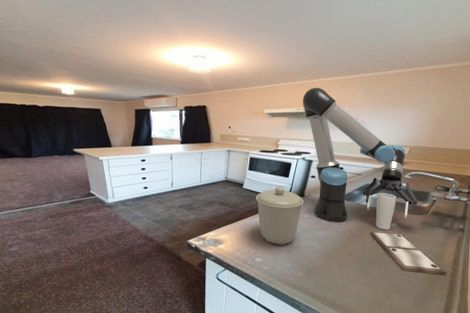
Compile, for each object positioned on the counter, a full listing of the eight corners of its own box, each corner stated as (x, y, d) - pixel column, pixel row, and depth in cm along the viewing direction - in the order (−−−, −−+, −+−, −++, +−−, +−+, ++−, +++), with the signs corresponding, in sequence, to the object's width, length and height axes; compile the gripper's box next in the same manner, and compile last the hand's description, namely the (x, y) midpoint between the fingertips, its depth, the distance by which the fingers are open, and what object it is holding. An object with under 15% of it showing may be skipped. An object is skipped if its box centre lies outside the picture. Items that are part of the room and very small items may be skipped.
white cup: (370, 224, 101) (373, 192, 98) (384, 223, 101) (387, 192, 99) (381, 231, 94) (385, 197, 92) (395, 230, 94) (400, 197, 92)
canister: (245, 237, 87) (247, 186, 84) (271, 223, 100) (272, 178, 97) (286, 256, 75) (289, 198, 72) (308, 237, 88) (312, 187, 85)
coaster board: (402, 270, 69) (403, 265, 68) (370, 234, 91) (370, 230, 91) (445, 275, 67) (446, 270, 66) (401, 237, 89) (402, 233, 89)
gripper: (425, 182, 99) (422, 224, 90) (362, 173, 115) (354, 209, 105) (427, 172, 94) (424, 216, 85) (362, 165, 110) (353, 201, 100)
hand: (385, 212), depth 95 cm, fingers open, 13 cm apart
